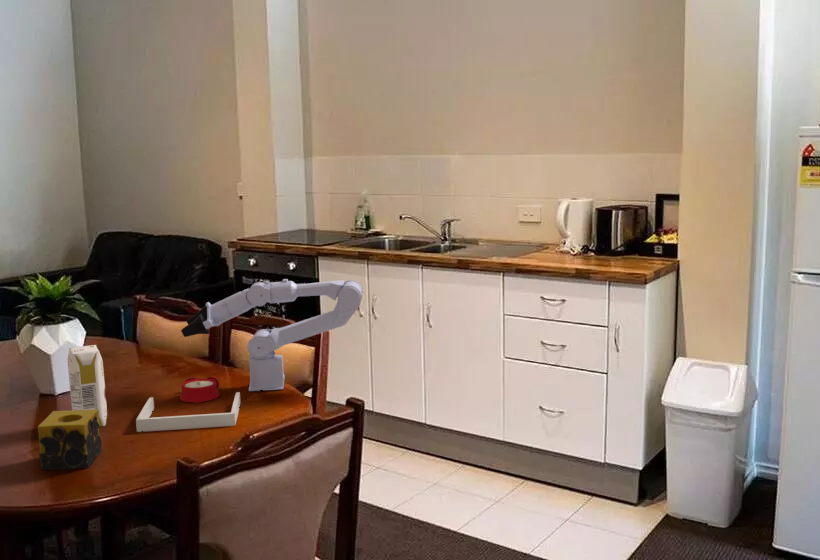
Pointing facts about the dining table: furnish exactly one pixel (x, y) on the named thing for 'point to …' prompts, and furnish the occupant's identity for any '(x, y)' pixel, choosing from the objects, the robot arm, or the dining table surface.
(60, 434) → the yellow patterned cube
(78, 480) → the dining table surface
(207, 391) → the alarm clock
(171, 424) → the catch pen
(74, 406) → the juice carton
